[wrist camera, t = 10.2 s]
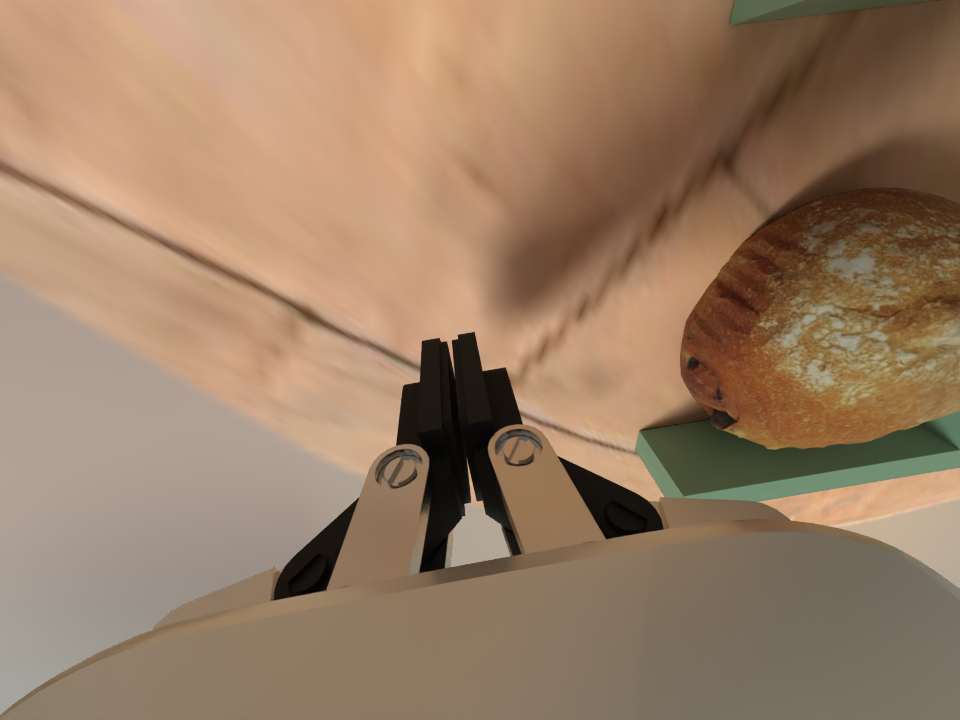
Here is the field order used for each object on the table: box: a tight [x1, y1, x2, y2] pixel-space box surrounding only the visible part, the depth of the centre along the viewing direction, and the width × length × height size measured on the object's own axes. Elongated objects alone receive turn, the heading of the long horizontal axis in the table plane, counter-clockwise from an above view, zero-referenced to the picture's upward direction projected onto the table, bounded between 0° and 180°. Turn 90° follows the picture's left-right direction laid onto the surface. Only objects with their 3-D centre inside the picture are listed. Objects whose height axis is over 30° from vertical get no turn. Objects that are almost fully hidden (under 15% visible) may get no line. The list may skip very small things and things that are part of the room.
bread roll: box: [680, 188, 960, 450], centre depth 14 cm, size 10×10×8 cm
